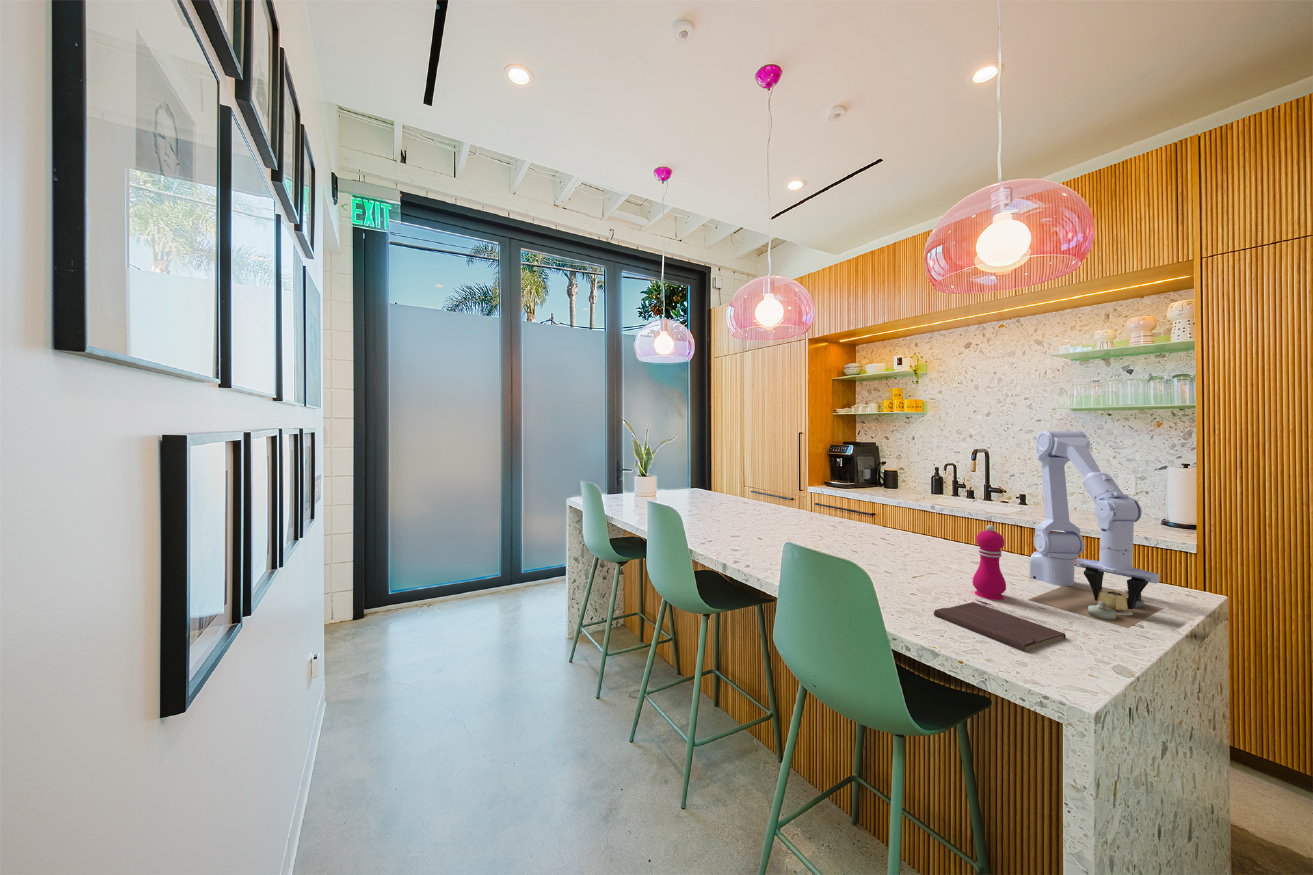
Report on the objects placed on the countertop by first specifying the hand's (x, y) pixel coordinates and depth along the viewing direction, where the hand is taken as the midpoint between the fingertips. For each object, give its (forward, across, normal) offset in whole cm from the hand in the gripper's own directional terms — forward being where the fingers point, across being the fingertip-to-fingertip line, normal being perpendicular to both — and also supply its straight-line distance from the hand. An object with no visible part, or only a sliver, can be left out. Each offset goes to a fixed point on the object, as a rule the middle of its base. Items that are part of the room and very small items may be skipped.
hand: (1114, 604), depth 115 cm
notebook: (+4, -11, -31) cm, 33 cm away
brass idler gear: (0, 0, 0) cm, 0 cm away
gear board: (+3, -4, 0) cm, 5 cm away
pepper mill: (+3, -20, -16) cm, 25 cm away
